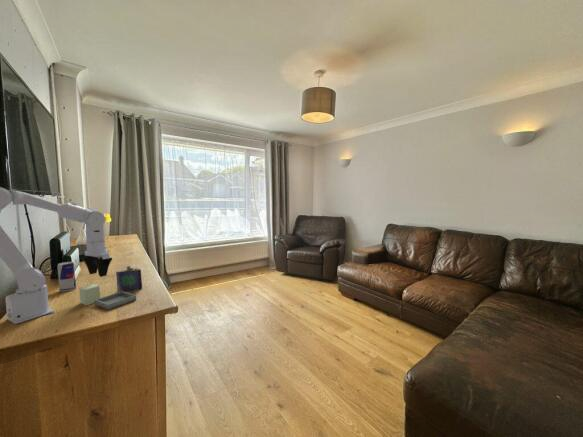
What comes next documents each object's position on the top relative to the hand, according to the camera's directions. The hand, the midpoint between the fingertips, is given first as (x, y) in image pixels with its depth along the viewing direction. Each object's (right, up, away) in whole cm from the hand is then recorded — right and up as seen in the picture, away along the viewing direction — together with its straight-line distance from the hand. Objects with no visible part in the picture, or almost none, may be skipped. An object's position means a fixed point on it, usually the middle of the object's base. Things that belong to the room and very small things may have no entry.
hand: (98, 274), depth 96 cm
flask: (+7, -9, +9) cm, 14 cm away
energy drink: (-22, -9, +10) cm, 25 cm away
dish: (+10, -10, -4) cm, 15 cm away
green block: (0, -10, -3) cm, 10 cm away
